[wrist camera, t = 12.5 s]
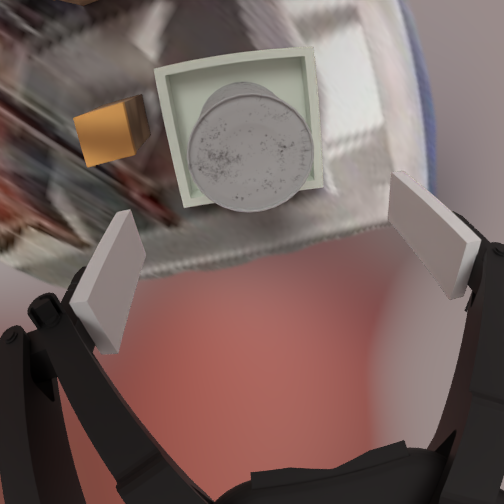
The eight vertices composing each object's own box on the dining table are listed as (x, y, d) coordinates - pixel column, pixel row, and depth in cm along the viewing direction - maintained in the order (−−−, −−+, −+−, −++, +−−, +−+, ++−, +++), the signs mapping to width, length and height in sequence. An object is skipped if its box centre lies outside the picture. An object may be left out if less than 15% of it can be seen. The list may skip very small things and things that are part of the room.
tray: (159, 67, 30) (153, 68, 27) (306, 47, 30) (313, 46, 27) (186, 197, 39) (183, 207, 36) (316, 177, 39) (323, 187, 36)
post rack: (78, -29, 21) (48, -42, 15) (120, -45, 21) (97, -63, 15) (110, 145, 34) (87, 167, 28) (151, 135, 34) (135, 155, 28)
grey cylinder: (223, 67, 30) (222, 70, 20) (301, 107, 33) (337, 131, 23) (184, 143, 34) (167, 184, 24) (260, 177, 37) (274, 230, 27)
